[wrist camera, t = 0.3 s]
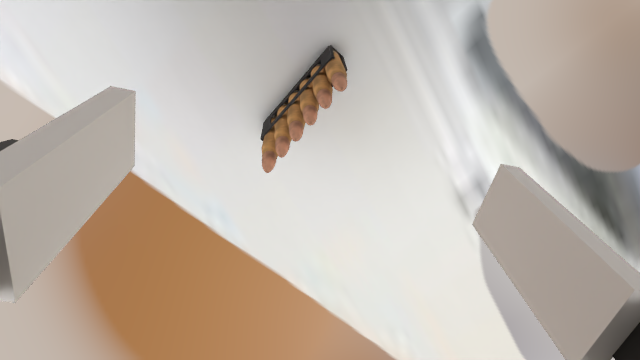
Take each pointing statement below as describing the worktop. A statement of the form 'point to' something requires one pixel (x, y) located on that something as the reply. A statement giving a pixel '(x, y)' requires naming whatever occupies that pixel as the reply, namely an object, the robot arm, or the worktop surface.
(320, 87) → the ammunition clip
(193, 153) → the worktop surface
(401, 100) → the worktop surface
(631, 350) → the robot arm
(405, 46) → the worktop surface
